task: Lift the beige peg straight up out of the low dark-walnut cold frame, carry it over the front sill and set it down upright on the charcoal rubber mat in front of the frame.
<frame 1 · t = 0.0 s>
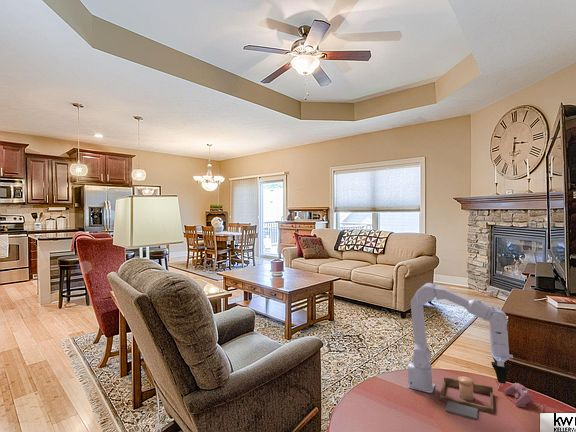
hand: (501, 378, 116), 10 cm above the table, tool pointing down, fingers open, 7 cm apart
rubber mat: (461, 410, 114), on the table
video game controller: (518, 401, 119), on the table
cold frame: (466, 397, 122), on the table
beige peg: (466, 397, 122), resting in cold frame
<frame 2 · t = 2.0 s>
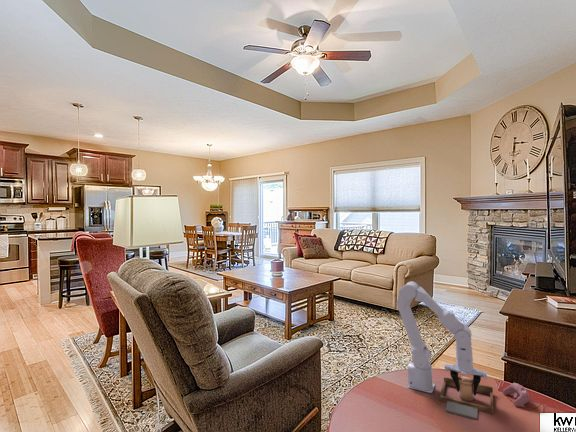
hand: (466, 392, 122), 2 cm above the table, tool pointing down, fingers closed on beige peg, 5 cm apart
beige peg: (466, 397, 122), resting in cold frame, touching gripper
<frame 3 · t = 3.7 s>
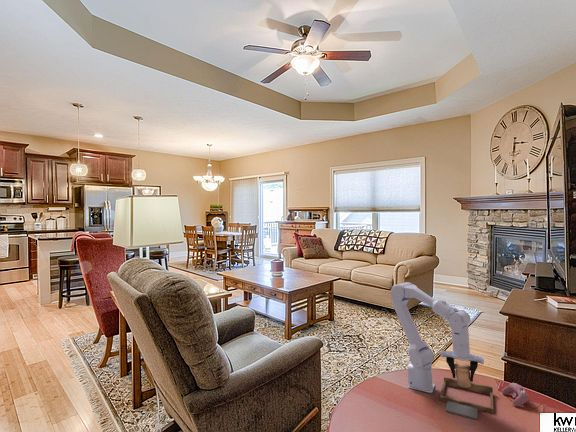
hand: (462, 378, 118), 9 cm above the table, tool pointing down, fingers closed on beige peg, 5 cm apart
beige peg: (464, 384, 118), point 7 cm above the table, touching gripper
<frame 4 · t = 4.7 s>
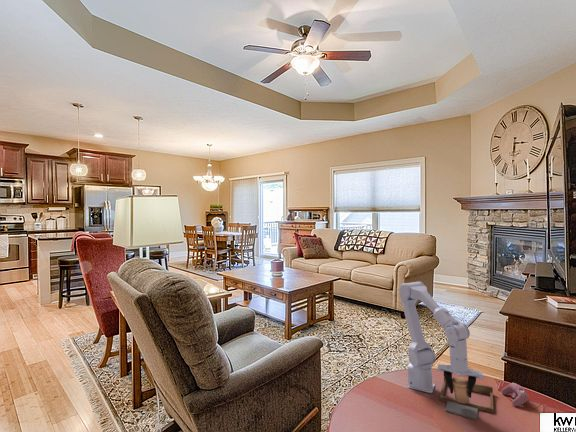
hand: (460, 394, 114), 6 cm above the table, tool pointing down, fingers closed on beige peg, 5 cm apart
beige peg: (462, 399, 114), point 4 cm above the table, tilted 7°, touching gripper
when the fingers open (4 cm above the table, at t = 5.6 s): beige peg drops 1 cm, resting on rubber mat.
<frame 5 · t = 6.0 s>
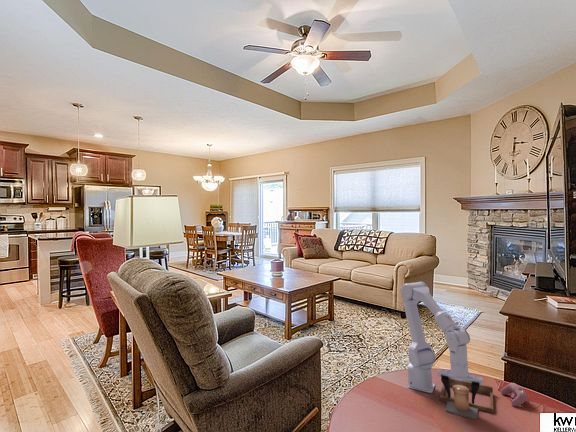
hand: (461, 399, 114), 4 cm above the table, tool pointing down, fingers open, 7 cm apart
beige peg: (462, 407, 114), point 1 cm above the table, touching rubber mat
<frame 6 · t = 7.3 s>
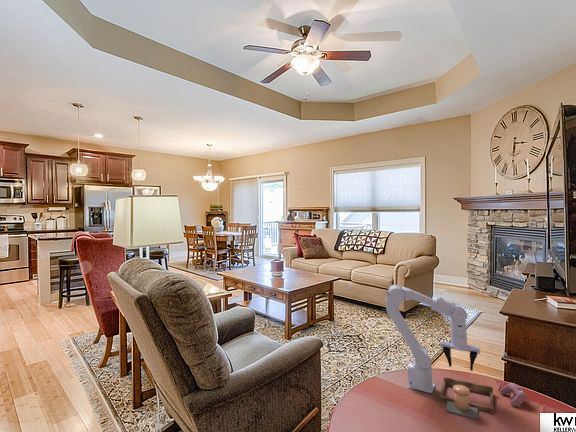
hand: (460, 367, 127), 9 cm above the table, tool pointing down, fingers open, 7 cm apart
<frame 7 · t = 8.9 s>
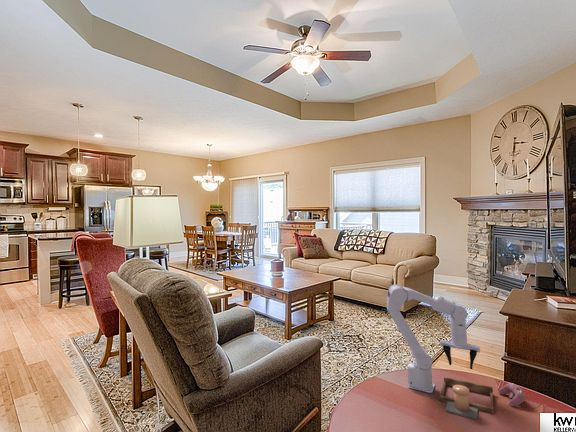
hand: (460, 366, 129), 9 cm above the table, tool pointing down, fingers open, 7 cm apart
at the end: beige peg 1.0 cm off-centre on the rubber mat, point 0.6 cm above the rubber mat's base; beige peg tilted 1°; the gripper is holding nothing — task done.
